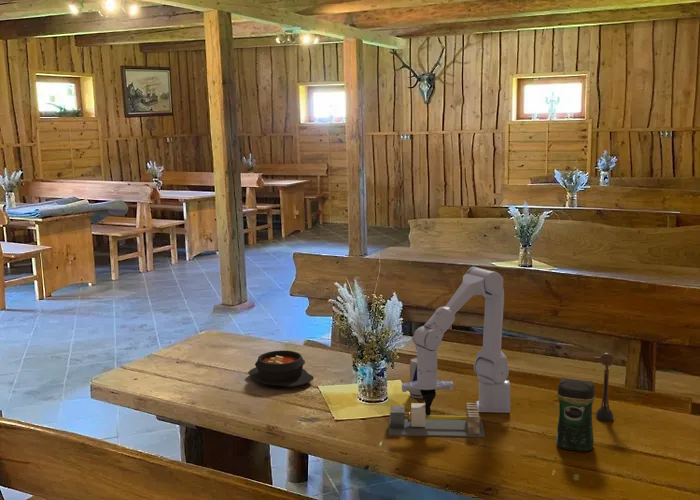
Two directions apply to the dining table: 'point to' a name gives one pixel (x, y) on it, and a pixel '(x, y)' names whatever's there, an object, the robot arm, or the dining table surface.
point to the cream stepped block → (417, 414)
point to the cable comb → (472, 418)
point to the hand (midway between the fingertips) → (427, 413)
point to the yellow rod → (442, 417)
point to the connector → (398, 417)
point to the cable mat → (438, 429)
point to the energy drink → (414, 378)
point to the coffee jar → (575, 415)
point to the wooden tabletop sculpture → (605, 389)
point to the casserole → (280, 369)
